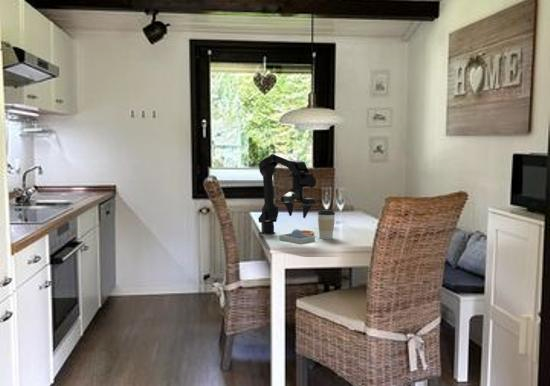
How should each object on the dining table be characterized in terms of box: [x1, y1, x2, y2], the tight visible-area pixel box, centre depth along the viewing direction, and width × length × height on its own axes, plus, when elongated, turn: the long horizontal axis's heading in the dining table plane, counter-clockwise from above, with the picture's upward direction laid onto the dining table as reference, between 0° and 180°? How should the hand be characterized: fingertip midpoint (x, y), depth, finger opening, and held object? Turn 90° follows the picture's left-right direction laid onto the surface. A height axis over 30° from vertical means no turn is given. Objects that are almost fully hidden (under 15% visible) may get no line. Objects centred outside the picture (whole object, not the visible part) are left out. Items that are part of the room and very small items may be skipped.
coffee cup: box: [317, 208, 336, 240], centre depth 276 cm, size 9×9×15 cm
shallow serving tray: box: [278, 232, 316, 245], centre depth 269 cm, size 15×10×2 cm
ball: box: [290, 228, 302, 239], centre depth 269 cm, size 6×6×6 cm
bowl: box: [299, 229, 315, 236], centre depth 282 cm, size 10×10×2 cm
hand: (297, 217), depth 268 cm, fingers open, 9 cm apart
